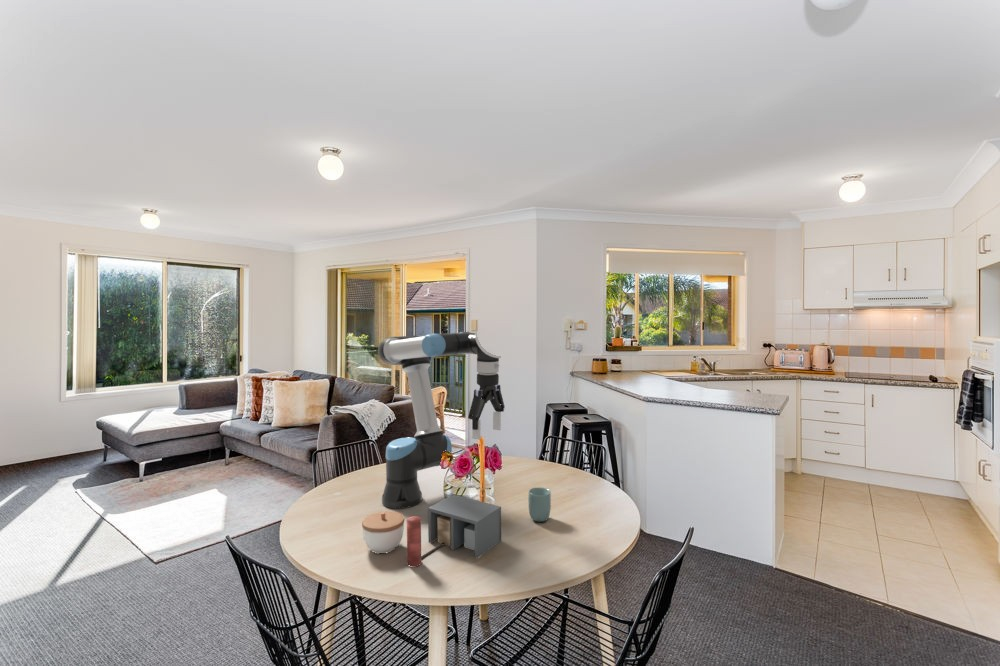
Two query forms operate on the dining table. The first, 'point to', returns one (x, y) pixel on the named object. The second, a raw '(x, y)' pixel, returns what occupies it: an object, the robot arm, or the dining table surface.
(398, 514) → the white lidded jar
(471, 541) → the block
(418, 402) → the robot arm
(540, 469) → the dining table surface
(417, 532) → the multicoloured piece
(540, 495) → the cup
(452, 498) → the cubby
